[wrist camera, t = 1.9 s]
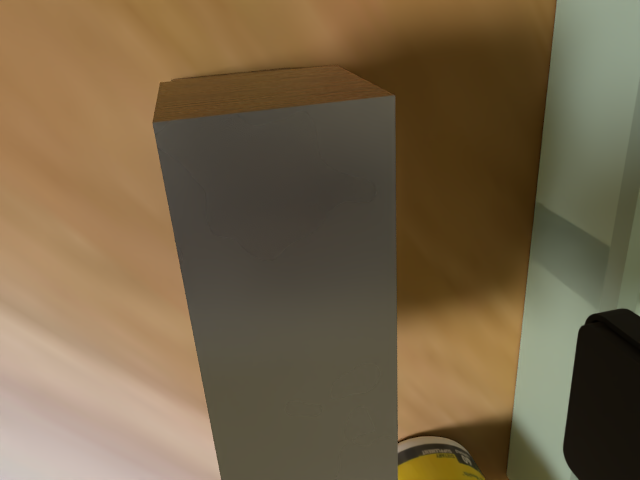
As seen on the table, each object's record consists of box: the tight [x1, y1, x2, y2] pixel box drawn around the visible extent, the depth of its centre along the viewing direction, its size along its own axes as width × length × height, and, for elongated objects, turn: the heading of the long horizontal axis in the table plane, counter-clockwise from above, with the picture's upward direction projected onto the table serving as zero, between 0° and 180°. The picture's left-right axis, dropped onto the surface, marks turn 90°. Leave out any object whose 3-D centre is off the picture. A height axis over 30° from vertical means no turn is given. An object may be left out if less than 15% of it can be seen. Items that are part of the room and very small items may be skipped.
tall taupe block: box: [153, 65, 398, 480], centre depth 12 cm, size 9×3×8 cm, turn 4°
